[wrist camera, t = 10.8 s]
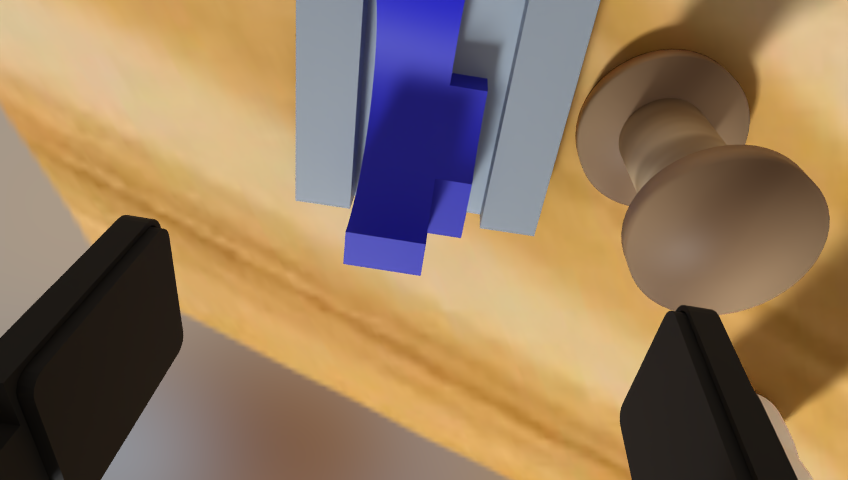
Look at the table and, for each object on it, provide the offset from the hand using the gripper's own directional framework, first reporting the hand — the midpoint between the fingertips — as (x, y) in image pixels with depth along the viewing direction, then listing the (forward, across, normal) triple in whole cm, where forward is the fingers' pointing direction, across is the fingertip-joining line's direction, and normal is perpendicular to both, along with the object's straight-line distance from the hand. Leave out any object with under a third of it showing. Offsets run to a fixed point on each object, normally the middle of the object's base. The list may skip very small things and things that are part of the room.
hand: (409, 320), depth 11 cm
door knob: (+17, -9, +2) cm, 19 cm away
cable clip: (+16, +1, 0) cm, 16 cm away
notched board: (+17, +1, 0) cm, 17 cm away
